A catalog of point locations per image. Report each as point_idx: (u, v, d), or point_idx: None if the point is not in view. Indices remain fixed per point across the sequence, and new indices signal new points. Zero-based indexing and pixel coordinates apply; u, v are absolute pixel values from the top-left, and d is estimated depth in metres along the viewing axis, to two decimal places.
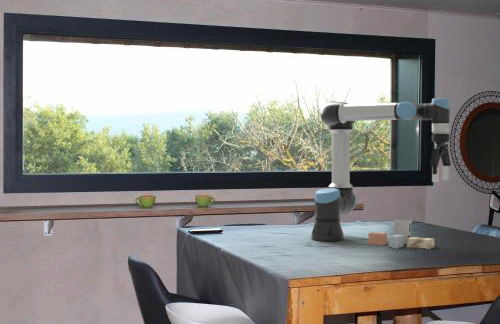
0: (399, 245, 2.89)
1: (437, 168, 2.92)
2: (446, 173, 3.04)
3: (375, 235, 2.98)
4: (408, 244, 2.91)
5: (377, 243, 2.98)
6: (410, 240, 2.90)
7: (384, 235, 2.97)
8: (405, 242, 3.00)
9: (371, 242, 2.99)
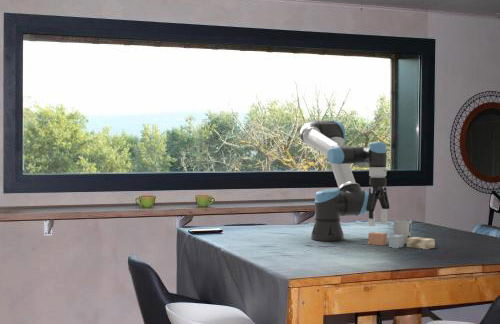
0: (399, 245, 2.89)
1: (373, 212, 2.92)
2: (385, 216, 3.04)
3: (375, 235, 2.98)
4: (408, 244, 2.92)
5: (377, 243, 2.98)
6: (409, 240, 2.91)
7: (384, 235, 2.97)
8: (405, 242, 3.00)
9: (371, 242, 2.99)
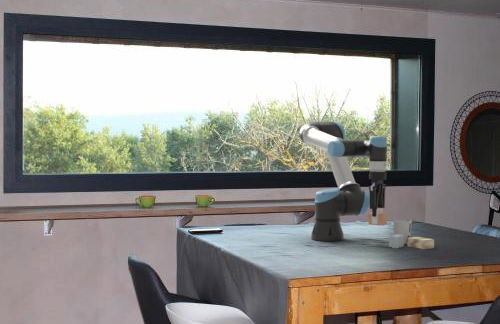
0: (399, 245, 2.89)
1: (376, 210, 2.97)
2: None
3: None
4: (408, 243, 2.93)
5: None
6: (409, 239, 2.92)
7: (384, 215, 2.97)
8: (405, 242, 3.00)
9: (371, 222, 2.99)
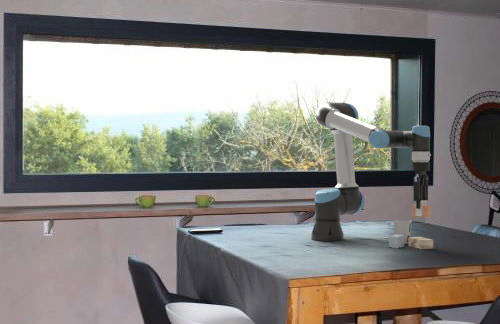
0: (399, 245, 2.89)
1: (421, 202, 2.87)
2: None
3: None
4: (409, 243, 2.94)
5: None
6: (410, 239, 2.93)
7: (428, 207, 2.88)
8: (405, 242, 3.00)
9: (415, 214, 2.90)
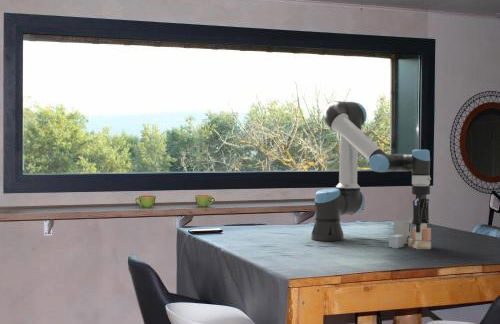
0: (399, 245, 2.89)
1: (420, 226, 2.87)
2: None
3: None
4: (408, 244, 2.94)
5: None
6: (409, 240, 2.93)
7: (428, 230, 2.88)
8: (405, 242, 3.00)
9: None
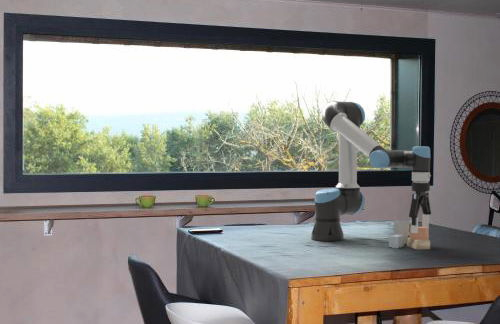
0: (399, 245, 2.89)
1: (416, 219, 2.84)
2: (426, 222, 2.96)
3: None
4: (407, 243, 2.94)
5: (419, 237, 2.88)
6: (408, 239, 2.93)
7: (426, 229, 2.88)
8: (405, 242, 3.00)
9: (413, 236, 2.90)
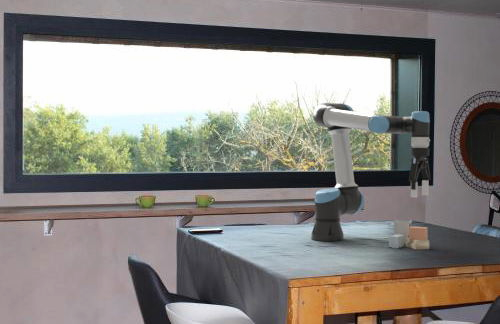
0: (399, 245, 2.89)
1: (416, 183, 2.84)
2: (426, 188, 2.96)
3: (416, 229, 2.88)
4: (406, 243, 2.93)
5: (418, 237, 2.88)
6: (407, 239, 2.92)
7: (425, 229, 2.87)
8: (405, 242, 3.00)
9: (412, 237, 2.89)
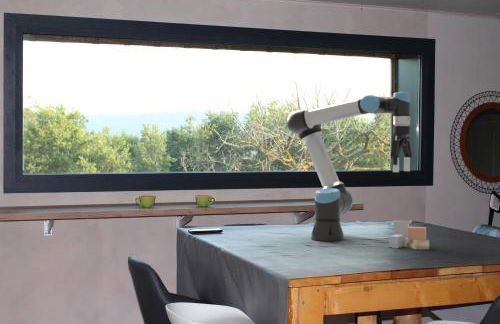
0: (399, 245, 2.89)
1: (397, 159, 3.05)
2: (407, 164, 3.16)
3: (415, 229, 2.88)
4: (405, 243, 2.93)
5: (418, 238, 2.87)
6: (406, 240, 2.92)
7: (425, 229, 2.87)
8: None
9: (411, 237, 2.89)
